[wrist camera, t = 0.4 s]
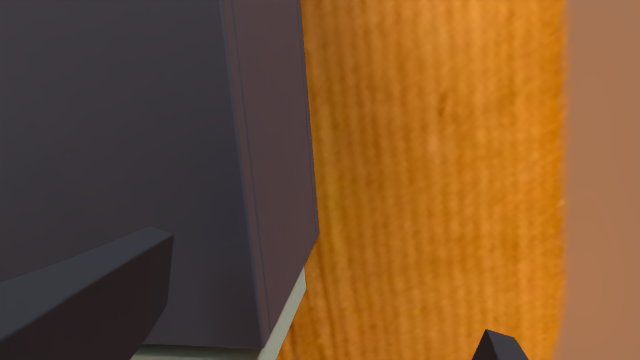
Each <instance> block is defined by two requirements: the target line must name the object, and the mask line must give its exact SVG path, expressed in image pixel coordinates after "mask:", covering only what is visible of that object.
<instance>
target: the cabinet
mask: <svg viewBox="0 0 640 360" xmlns="http://www.w3.org/2000/svg"><path fill="white" fill-rule="evenodd" d="M148 227H153V228H156V229H159V230H162V231H166V232H169V233H172V234H174V242H173V252H172V262H171V272H170V282H169V292H168V303H167V306H166V307H165V309H164V311H163V312H162V314H161V316H160V317H159V319H158V321H157V322H156V324H155V326H154V327H153V329H152V330H151V332H150V334H149V335H148V337H147V338H146V340H145V341H144V343H143V344H161V345H183V346H206V347H228V348H250V349H263V348H264V347H265V345H266V343H267V341H268V339H269V337H270V334H271V333H272V331H273V329H274V327H275V325H276V323H277V321H278V319H279V317H280V315H281V313H282V310H283V308H284V306H285V304H286V302H287V300H288V298H289V296H290V294H291V292H292V290H293V288H294V286H295V283H296V281H297V279H298V277H299V275H300V273H301V271H302V269H303V267H304V265H305V263H306V261H307V258H308V256H309V254H310V252H311V250H312V248H313V246H314V244H315V242H316V240H317V238H318V236H319V222H318V210H317V198H316V186H315V174H314V162H313V150H312V138H311V125H310V113H309V101H308V89H307V77H306V65H305V53H304V41H303V29H302V17H301V5H300V0H0V282H3V281H7V280H10V279H13V278H16V277H19V276H22V275H25V274H28V273H31V272H33V271H36V270H39V269H42V268H45V267H47V266H50V265H53V264H56V263H59V262H62V261H64V260H67V259H70V258H72V257H75V256H77V255H80V254H82V253H85V252H87V251H90V250H92V249H95V248H97V247H100V246H102V245H105V244H107V243H110V242H112V241H114V240H117V239H119V238H122V237H124V236H127V235H129V234H132V233H134V232H137V231H139V230H142V229H145V228H148Z"/></svg>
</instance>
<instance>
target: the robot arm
mask: <svg viewBox="0 0 640 360" xmlns="http://www.w3.org/2000/svg"><path fill="white" fill-rule="evenodd" d="M173 242H174V234H172V233H169V232H166V231H162V230H159V229H156V228H153V227H148V228H145V229H142V230H139V231H137V232H134V233H132V234H129V235H127V236H124V237H122V238H119V239H117V240H114V241H112V242H110V243H107V244H105V245H102V246H100V247H97V248H95V249H92V250H90V251H87V252H85V253H82V254H80V255H77V256H75V257H72V258H70V259H67V260H64V261H62V262H59V263H56V264H53V265H50V266H47V267H45V268H42V269H39V270H36V271H33V272H31V273H28V274H25V275H22V276H19V277H16V278H13V279H10V280H7V281H3V282H0V360H130V359H131V358H132V356H133V355H134V354H135V353H136V351H137V350H138V349H139V348H140V346H141V345H142V344H143V343H144V341H145V340H146V338H147V337H148V335H149V334H150V332H151V330H152V329H153V327H154V326H155V324H156V322H157V321H158V319H159V317H160V316H161V314H162V312H163V311H164V309H165V307H166V306H167V303H168V292H169V282H170V272H171V262H172V252H173ZM472 360H528V358H527V356H526V355H525V353H524V352H523V350H522V349H521V347H520V346H519V344H518V343H517V341H516V340H515V338H513V337H510V336H507V335H504V334H500V333H497V332H494V331H491V330H487V329H486V330H485V332H484V334H483V336H482V338H481V341H480V343H479V345H478V347H477V349H476V352H475V354H474V356H473V358H472Z"/></svg>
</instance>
